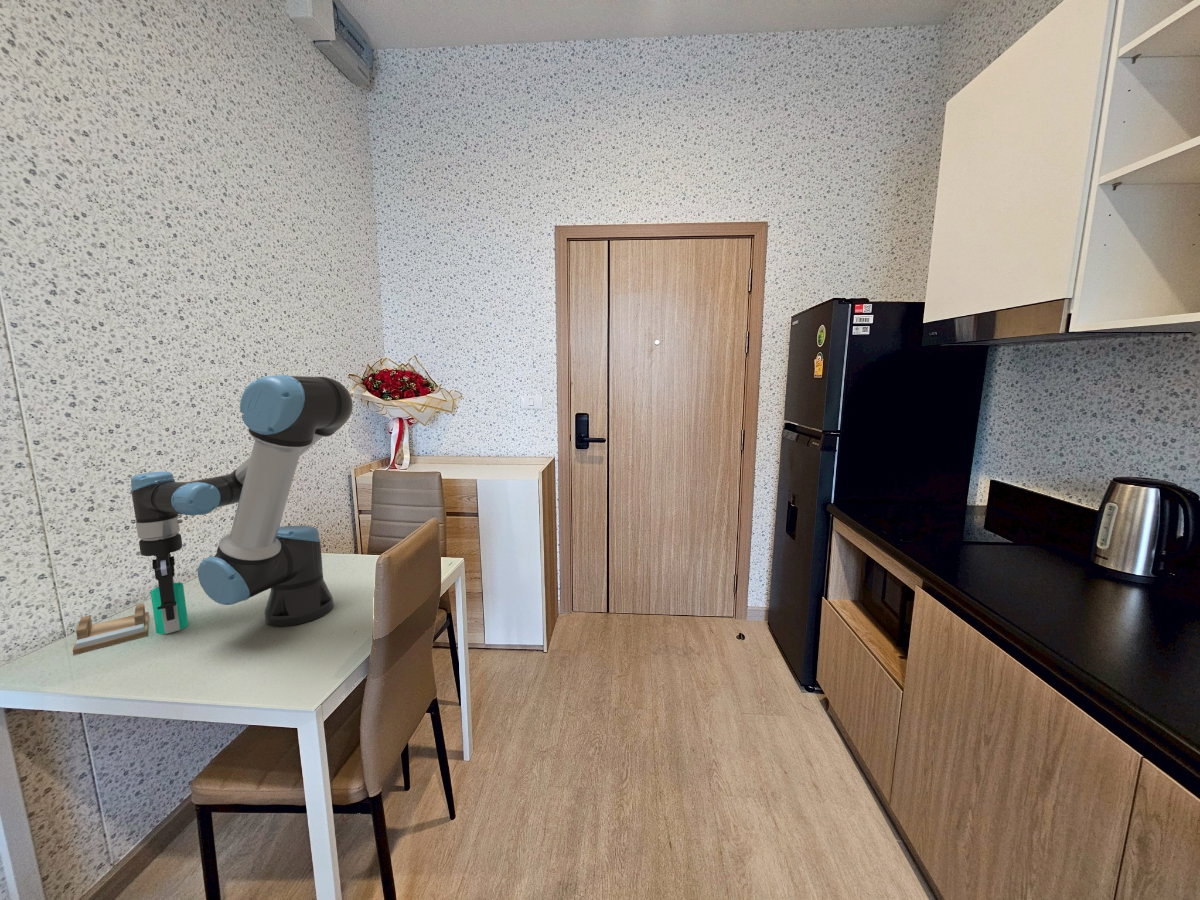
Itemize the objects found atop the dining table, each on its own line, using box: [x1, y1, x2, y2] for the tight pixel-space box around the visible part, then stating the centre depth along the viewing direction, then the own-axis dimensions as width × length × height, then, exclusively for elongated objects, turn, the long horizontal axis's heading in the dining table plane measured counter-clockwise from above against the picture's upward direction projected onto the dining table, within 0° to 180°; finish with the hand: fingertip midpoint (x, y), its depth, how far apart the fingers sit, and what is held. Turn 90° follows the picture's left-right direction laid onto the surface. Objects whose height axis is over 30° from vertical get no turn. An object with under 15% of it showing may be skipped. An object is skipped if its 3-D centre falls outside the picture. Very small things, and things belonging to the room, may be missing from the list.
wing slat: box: [75, 624, 144, 648], centre depth 111 cm, size 2×11×1 cm, turn 132°
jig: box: [72, 602, 150, 656], centre depth 114 cm, size 14×12×4 cm
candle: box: [150, 582, 189, 635], centre depth 116 cm, size 6×6×12 cm
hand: (172, 626), depth 117 cm, fingers closed on candle, 6 cm apart
